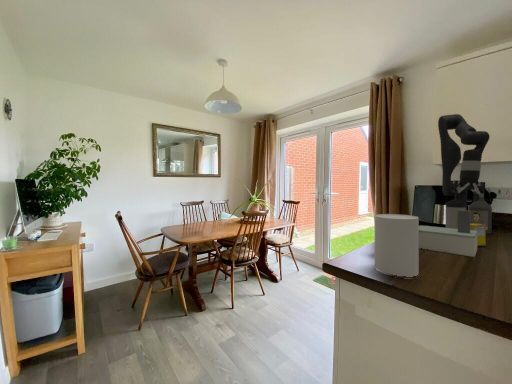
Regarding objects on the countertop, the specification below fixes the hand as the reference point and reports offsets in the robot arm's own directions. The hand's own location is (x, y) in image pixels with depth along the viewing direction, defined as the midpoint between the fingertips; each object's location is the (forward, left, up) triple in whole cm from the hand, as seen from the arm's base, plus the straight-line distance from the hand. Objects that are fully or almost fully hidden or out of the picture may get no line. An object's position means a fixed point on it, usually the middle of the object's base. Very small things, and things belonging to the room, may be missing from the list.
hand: (465, 200), depth 117 cm
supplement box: (+5, +2, -23) cm, 23 cm away
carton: (+17, -13, -22) cm, 31 cm away
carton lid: (+17, -13, -14) cm, 26 cm away
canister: (+59, -38, -23) cm, 74 cm away
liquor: (-34, +18, -23) cm, 44 cm away
